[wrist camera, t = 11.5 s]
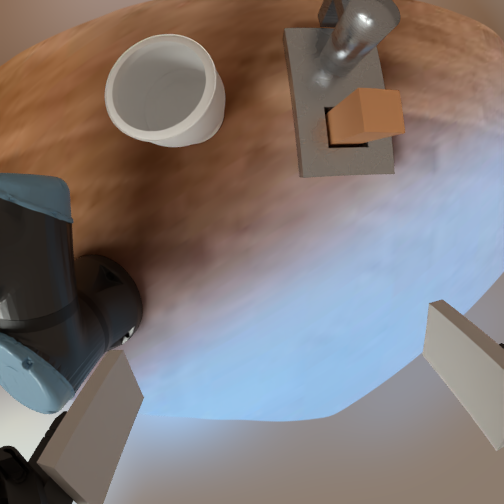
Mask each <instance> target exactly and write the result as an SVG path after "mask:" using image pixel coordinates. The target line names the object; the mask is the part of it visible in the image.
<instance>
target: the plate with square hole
mask: <svg viewBox="0 0 504 504" xmlns="http://www.w3.org/2000/svg"><path fill="white" fill-rule="evenodd" d="M318 18H319V23H320V27H335V28H334V29H331V28H285V29H284V34H283V44H284V51H285V58H286V64H287V71H288V79H289V86H290V94H291V102H292V110H293V118H294V127H295V136H296V146H297V156H298V166H299V177H301V178H307V177H323V176H342V175H368V174H395V172H394V158H393V147H392V137H391V136H390V137H386V138H382V139H377V140H373V141H369V142H365V143H361V144H359V147H356V148H329V147H328V137H327V128H326V120H325V112H329V111H330V110H332V109H333V108H334V107H335V106H336V105H338V104H339V103H340V102H341V101H342V100H344V99H345V98H346V97H347V96H349V95H350V94H351V93H352V92H354V91H355V90H356V89H357V88H376V89H385V86H384V81H383V75H382V70H381V65H380V60H379V55H378V51H377V46H376V45H377V44H378V43H379V42H380V41H381V40H382V39H383V38H384V37H385V36H386V35H387V34H389V33H390V32H391V31H392V30H393V29H394V28H395V27H396V26H397V25H398V23H399V22H400V12H399V10H398V8H397V6H396V5H395V3H394V2H393V1H392V0H324V1H323V3H322V6H321V8H320V11H319V14H318Z"/></svg>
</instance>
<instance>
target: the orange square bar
mask: <svg viewBox="0 0 504 504" xmlns="http://www.w3.org/2000/svg"><path fill="white" fill-rule="evenodd" d="M325 120H326V128H327V137H328V146H339V145H357V144H361V143H365V142H369V141H373V140H377V139H382V138H386V137H390V136H395V135H399V134H403V133H405V127H404V119H403V112H402V105H401V98H400V92H399V90H389V89H376V88H357V89H356V90H355V91H354V92H352V93H351V94H350V95H349V96H347V97H346V98H345V99H344V100H342V101H341V102H340V103H339V104H338V105H336V106H335V107H334V108H333V109H332V110H330V111H329V112H328V113H327V114H326V115H325Z"/></svg>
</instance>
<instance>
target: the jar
mask: <svg viewBox="0 0 504 504" xmlns="http://www.w3.org/2000/svg"><path fill="white" fill-rule="evenodd" d="M105 105H106V109H107V112H108V115H109V117H110V119H111V120H112V122H113V123H114V124H115V126H116V127H117V128H118V129H119V130H121V131H122V132H123V133H125V134H126V135H128V136H130V137H132V138H135V139H138V140H141V141H146V142H151V143H154V144H157V145H160V146H165V147H183V146H188V145H192V144H198V143H202V142H204V141H206V140H208V139H210V138H211V137H212V136H213V135H215V134H216V132H217V131H218V130H219V128H220V127H221V124H222V122H223V118H224V108H225V90H224V86H223V82H222V80H221V78H220V76H219V74H218V72H217V71H216V68H215V65H214V62H213V60H212V58H211V57H210V55H209V53H208V52H207V51H206V50H205V49H204V47H202V46H201V45H200V44H199V43H198V42H196V41H194V40H192V39H190V38H188V37H185V36H182V35H176V34H161V35H156V36H152V37H149V38H146V39H144V40H141V41H140V42H138V43H136V44H134V45H133V46H131V47H130V48H129V49H128V50H126V51H125V52H124V53H123V54H122V55H121V56H120V58H119V59H118V60H117V61H116V63H115V64H114V66H113V68H112V69H111V71H110V73H109V76H108V79H107V82H106V87H105Z"/></svg>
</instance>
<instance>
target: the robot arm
mask: <svg viewBox="0 0 504 504" xmlns="http://www.w3.org/2000/svg"><path fill="white" fill-rule="evenodd" d="M72 223H73V218H72V217H71V207H70V191H69V188H68V185H67V184H66V183H65V181H64V180H62V179H61V178H58V177H53V176H45V175H33V174H17V173H0V385H1V386H2V387H3V388H4V389H5V390H6V391H7V392H8V393H9V394H10V395H11V396H12V397H13V398H14V399H16V400H17V401H18V402H20V403H21V404H23V405H24V406H26V407H28V408H30V409H32V410H34V411H36V412H40V413H43V414H53V413H56V412H58V411H59V410H61V409H62V408H63V407H64V405H65V404H66V403H67V402H68V401H69V400H70V399H72V398H73V397H74V395H75V393H76V391H77V390H78V388H79V387H80V386H81V384H82V383H83V381H84V380H85V379H86V377H87V376H88V374H89V373H90V372H91V370H92V369H93V368H94V366H95V365H96V363H97V362H98V361H99V359H100V358H101V357H102V355H103V354H104V353H105V352H107V351H108V352H107V354H106V355H105V356H104V358H103V359H102V361H101V362H100V364H99V365H98V367H97V368H96V369H95V371H94V372H93V374H92V375H91V377H90V378H89V380H88V381H87V383H86V384H85V386H84V387H83V389H82V390H81V392H80V393H79V395H78V396H77V398H76V399H75V401H74V402H73V404H72V406H71V407H70V409H69V410H68V412H67V411H64V412H63V413H62V414H60V415H59V416H58V417H57V418H55V420H54V421H53V423H52V424H51V426H50V428H49V430H48V431H47V432H46V434H45V437H43V438H42V440H41V442H40V443H39V445H38V446H37V448H36V450H35V451H34V453H33V455H32V456H31V458H30V460H29V461H28V462H27V461H26V460H25V459H24V457H23V456H22V455H21V454H20V453H19V451H18V450H17V449H15V448H14V447H12V446H3V447H1V448H0V504H72V502H73V500H74V501H75V502H76V503H77V504H103V503H104V500H105V497H106V494H107V492H108V489H109V486H110V483H111V481H112V478H113V475H114V472H115V470H116V467H117V464H118V462H119V459H120V457H121V453H122V451H123V449H124V446H125V444H126V441H127V439H128V436H129V433H130V431H131V428H132V426H133V423H134V421H135V418H136V416H137V413H138V411H139V409H140V406H141V404H142V401H143V399H144V397H143V395H142V392H141V390H140V388H139V386H138V384H137V381H136V379H135V377H134V374H133V372H132V370H131V367H130V365H129V363H128V360H127V358H126V355H125V353H124V350H111V349H113V348H115V347H118V346H120V345H122V344H124V343H125V342H127V341H128V340H129V339H130V338H131V337H132V335H133V334H134V333H135V331H136V330H137V328H138V327H139V324H140V322H141V318H142V302H141V297H140V294H139V291H138V289H137V287H136V285H135V283H134V281H133V280H132V278H131V277H130V276H129V274H128V273H127V272H126V271H125V270H124V269H123V268H122V267H121V266H120V265H118V264H117V263H116V262H114V261H112V260H111V259H108V258H106V257H103V256H99V255H86V256H83V257H80V258H78V259H76V260H75V261H74V254H73V238H72ZM422 355H423V357H425V359H426V360H427V361H428V363H429V364H430V365H431V366H432V367H433V369H434V370H435V371H436V372H437V373H438V375H439V376H440V377H441V378H442V380H443V381H444V382H445V383H446V385H447V386H448V387H449V388H450V390H451V391H452V392H453V394H454V395H455V396H456V397H457V399H458V400H459V401H460V402H461V404H462V405H463V406H464V408H465V409H466V410H467V412H468V413H469V414H470V416H471V417H472V418H473V420H474V421H475V422H476V424H477V425H478V426H479V428H480V429H481V430H482V432H483V433H484V435H485V436H486V437H487V439H488V440H489V441H490V443H491V444H492V446H493V447H494V449H495V450H496V451H498V450H499V449H501V448H502V447H504V344H502V343H501V344H499V345H498V344H497V343H496V342H495V341H494V340H492V339H491V338H490V337H489V336H488V335H486V334H485V333H484V332H483V331H482V330H480V329H479V328H478V327H477V326H475V325H474V324H473V323H472V322H471V321H469V320H468V319H467V318H466V317H464V316H463V315H462V314H461V313H459V312H458V311H457V310H455V309H454V308H453V307H452V306H450V305H449V304H448V303H446V302H445V301H444V300H439V301H436V302H432V303H429V309H428V318H427V327H426V334H425V341H424V348H423V354H422Z"/></svg>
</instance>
